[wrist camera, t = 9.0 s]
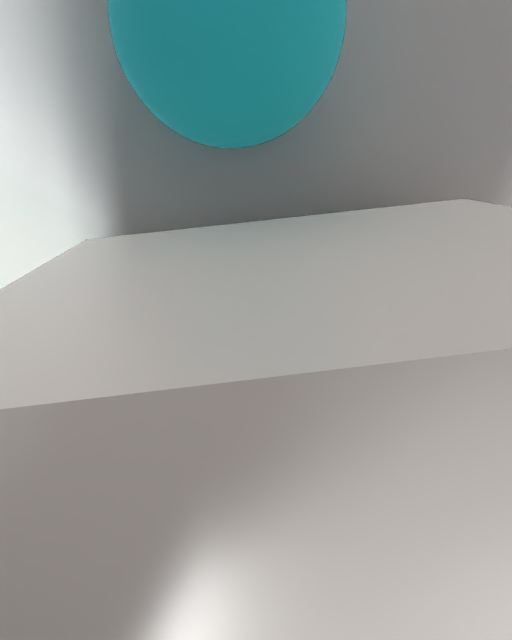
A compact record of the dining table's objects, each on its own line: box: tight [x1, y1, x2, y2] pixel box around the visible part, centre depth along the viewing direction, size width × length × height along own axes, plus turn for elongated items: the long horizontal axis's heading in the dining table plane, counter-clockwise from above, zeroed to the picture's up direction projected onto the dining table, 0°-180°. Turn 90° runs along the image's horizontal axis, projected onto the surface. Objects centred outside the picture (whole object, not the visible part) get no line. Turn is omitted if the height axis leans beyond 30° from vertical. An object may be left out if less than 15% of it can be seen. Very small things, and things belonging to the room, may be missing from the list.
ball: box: [107, 0, 346, 148], centre depth 9 cm, size 5×5×5 cm
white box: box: [0, 199, 512, 640], centre depth 9 cm, size 10×10×9 cm
